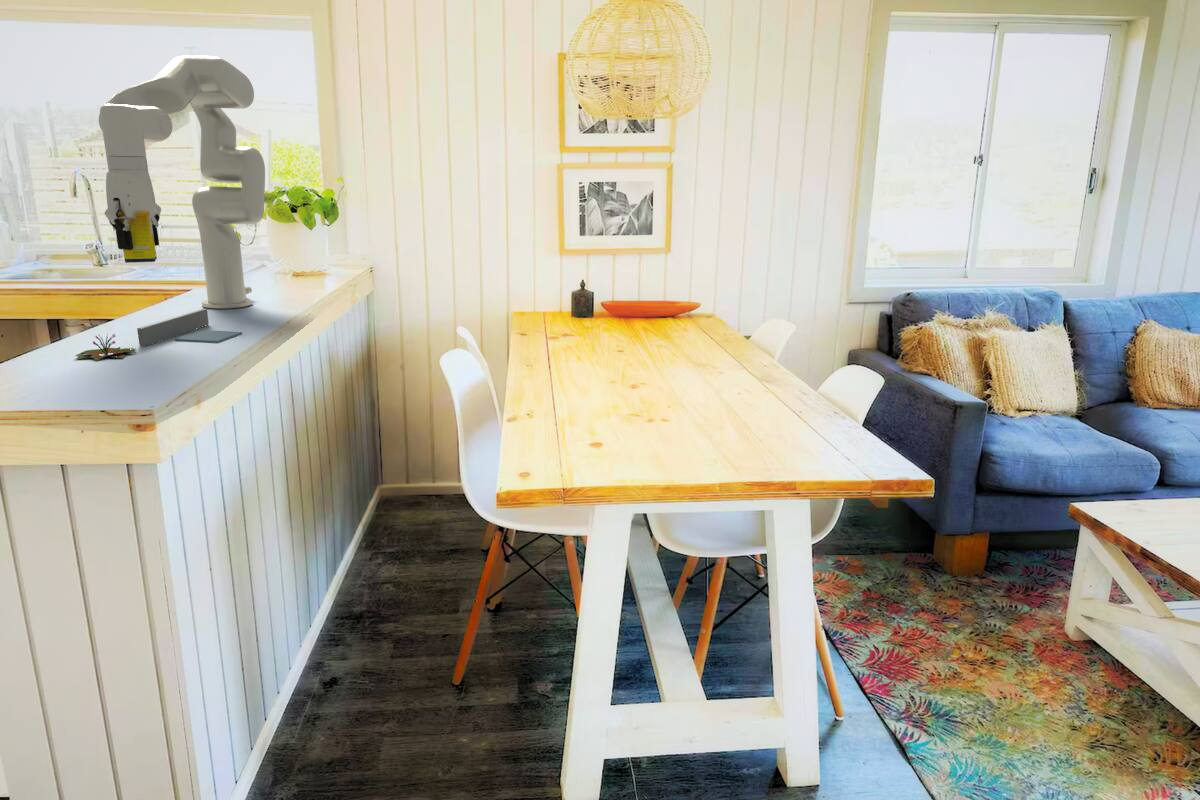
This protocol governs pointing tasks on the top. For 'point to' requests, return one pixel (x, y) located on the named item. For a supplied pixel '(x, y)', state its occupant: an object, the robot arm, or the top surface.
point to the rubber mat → (208, 336)
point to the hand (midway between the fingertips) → (139, 246)
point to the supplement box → (140, 239)
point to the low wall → (172, 327)
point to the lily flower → (105, 350)
